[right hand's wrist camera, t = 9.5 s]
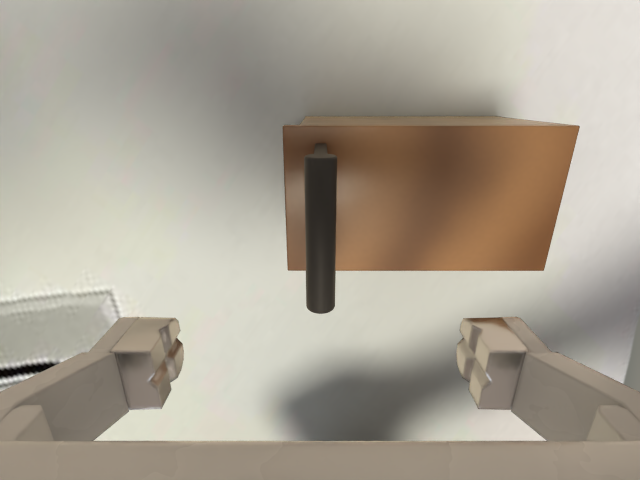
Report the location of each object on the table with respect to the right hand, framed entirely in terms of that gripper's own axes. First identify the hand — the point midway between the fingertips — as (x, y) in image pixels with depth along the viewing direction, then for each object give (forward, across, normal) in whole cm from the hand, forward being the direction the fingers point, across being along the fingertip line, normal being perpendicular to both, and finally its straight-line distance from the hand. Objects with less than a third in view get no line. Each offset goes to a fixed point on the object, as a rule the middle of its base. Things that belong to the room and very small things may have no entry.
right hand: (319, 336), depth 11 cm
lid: (+15, +7, 0) cm, 16 cm away
